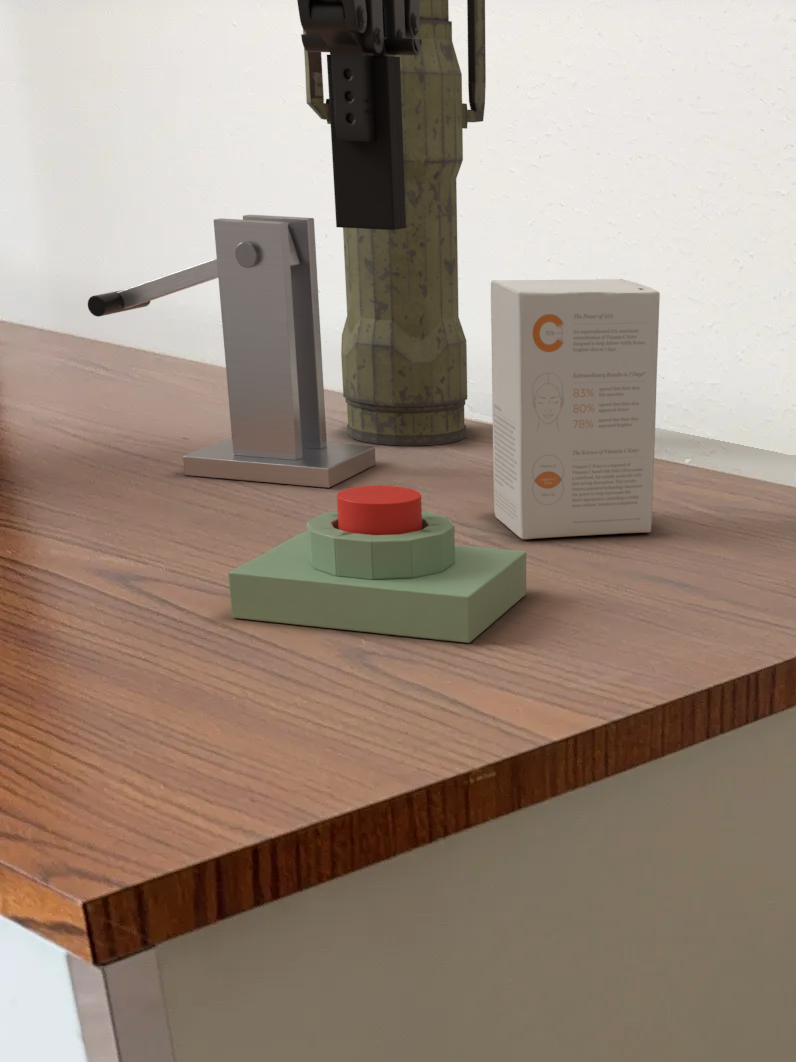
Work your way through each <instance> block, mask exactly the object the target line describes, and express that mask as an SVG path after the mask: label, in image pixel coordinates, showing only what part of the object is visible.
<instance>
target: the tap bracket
mask: <svg viewBox="0 0 796 1062" xmlns="http://www.w3.org/2000/svg"><path fill="white" fill-rule="evenodd" d="M288 229H289V232H290V235H291V238H292V241H293V244H294V247H295V250H296V253H297V256H298V259H299V262H300V264H299V265H296V266H293V267H290V255H289V239H288ZM213 230H214V243H215V244H214V245H215V254H216V258H217V267H218V278H217V280H218V287H219V288H218V290H219V301H220V303H219V304H220V312H221V313H220V314H221V325H222V337H223V349H224V359H225V371H226V385H227V396H228V406H229V420H230V432H231V437H228V438H226V439H224V440H221V441H218V442H215V443H213V444H210V445H208V446H205V447H202V448H200V449H197V450H196V451H195V450H194V451H193V452H190V453H187V454H186V455H183V456H182V461H183V471H184V476H190V477H201V478H212V479H213V478H214V479H224V480H236V481H247V482H258V483H271V484H280V485H281V484H282V485H291V486H292V485H293V486H303V487H312V488H313V487H315V488H326V489H329V488H331V487H334V486H336V485H338V484H339V483H342V482H343V481H346V480H348V479H350V478H352V477H353V476H355V475H357V474H359V473H361V472H364V471H366V470H367V469H369V468H371V467H374V466H376V464H377V463H376V446H375V445H365V444H355V443H354V444H353V443H343V442H331V441H330V442H328V441H327V439H328V438H327V423H326V422H327V421H326V408H325V405H326V404H325V390H324V388H325V387H324V371H323V370H324V369H323V354H322V337H321V335H322V334H321V319H320V318H321V317H320V316H321V315H320V301H319V284H318V283H319V282H318V281H319V280H318V266H317V250H316V249H317V246H316V231H315V218H314V217H300V216H299V217H298V216H282V215H264V214H263V215H261V214H245V215H242V219H238V218H237V219H236V218H222V217H221V218H213Z"/></svg>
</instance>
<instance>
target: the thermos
mask: <svg viewBox="0 0 796 1062" xmlns="http://www.w3.org/2000/svg"><path fill="white" fill-rule="evenodd" d="M466 6H467V7H466V8H467V9H466V13H467V15H466V17H467V19H466V20H467V84H468V86H467V89H468V103H469V108H470V109H468V103H463V75H462V70H461V66H460V63H459V60H458V57H457V53H456V50H455V46H454V42H453V21H452V20H450V16H449V14H450V13H449V0H420V17H419V22H420V24H419V33H418V36H417V37H416V38H411V39H422V48H421V52H420V54H419V55H396V56H395V57H400V73H401V100H402V127H403V154H404V181H405V209H406V228H402V229H397V230H384V229H363V228H342V234H343V235H342V236H343V258H344V259H343V260H344V277H345V279H344V281H345V298H346V299H345V300H346V317H345V322H344V325H343V328H342V329H343V330H342V333H341V346H340V347H341V348H340V349H341V350H340V352H341V353H340V356H341V358H340V359H341V375H342V376H341V377H342V379H341V380H342V395H343V397H344V399H345V403H346V408H347V409H346V410H347V411H346V413H347V425H346V432H347V433H346V434H347V436H348V437H350V439H353V440H356V441H359V442H362V443H363V442H364V443H370V444H375V445H387V446H410V447H413V446H415V447H417V446H435V445H443V444H450V443H454V442H455V443H456V442H459V441H461V440H463V439H465V438H466V435H467V431H466V428H467V427H466V426H467V425H466V424H465V405H466V401H467V400H468V350H467V348H468V347H467V346H468V345H467V338H466V335H465V332H464V329H463V326H462V323H461V321H460V317H459V315H460V314H459V263H458V261H459V259H458V258H459V257H458V256H459V255H458V253H459V252H458V200H457V198H458V196H457V195H458V194H457V178H458V175H459V172H460V170H461V166H462V164H463V161H464V147H463V145H464V144H463V143H464V142H463V141H464V140H463V139H464V137H463V135H464V134H463V129H465V130H466V129H468V123H480V122H484V119H485V117H484V116H485V108H486V89H487V88H486V86H487V85H486V83H487V82H486V81H487V79H486V78H487V77H486V76H487V75H486V72H487V70H486V69H487V68H486V0H466ZM302 34H308V35H318V33H317V32H305V31H304V30H303V29H302ZM303 54H304V55H303V56H304V73H305V91H306V92H305V95H306V97H305V98H306V99H305V100H306V104H307V105H308V106H309V108H310V109H312V111H313V112H314V113H315V114H316V115H317V116H318V118H320V120H325V121H326V123H327V125H331V122H330V105H329V98H326V99H325V97H324V79H323V60H322V52H308V51H306V50H305V48H304V47H303Z"/></svg>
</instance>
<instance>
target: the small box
mask: <svg viewBox="0 0 796 1062" xmlns="http://www.w3.org/2000/svg"><path fill="white" fill-rule="evenodd" d="M660 295H661V294H660V292H659V291H658V290H657V289H654V288H653V287H649V286H647V285H643V284H641V283H638V282H634V281H631V280H627V279H623V278H615V279H613V278H612V279H610V278H606V279H605V278H603V279H602V278H601V279H599V278H598V279H597V278H596V279H494V280H493V279H492V280H491V281H490V327H491V328H490V329H491V330H490V331H491V333H490V334H491V339H490V340H491V403H492V404H491V405H492V408H491V409H492V410H491V411H492V463H493V466H492V467H493V513H494V516H495V518H496V519H498V520H499V521H500V522H501V523H502V524H503V525H504V526H506V527H507V528H508V529H509V530H510V531H512V532H513V533H514V534H515V535H516V536H517V537H519V538H520V539H521V540H533V539H550V538H565V537H580V536H581V537H582V536H598V535H618V534H619V535H620V534H639V533H641V534H642V533H651V532H652V521H653V494H654V492H653V491H654V476H655V475H654V472H655V447H656V444H655V443H656V414H657V413H656V411H657V385H658V384H657V378H658V355H659V354H658V352H659V351H658V350H659V327H660V325H659V324H660V297H661V296H660Z"/></svg>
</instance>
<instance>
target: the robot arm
mask: <svg viewBox="0 0 796 1062" xmlns="http://www.w3.org/2000/svg"><path fill="white" fill-rule="evenodd" d="M296 2H297V8H298V15H299V20H300V25H301V28H302V31H303V30H304V31H305V32H317V33H318V35H308V34H303V33H301V34H300V37H301V43H302V45H303V49H304V48H305V50H306V51H308V52H321V53H329V54H326V65H327V81H328V82H327V87H328V99H329V105H330V122H331V124H330V138H331V156H332V157H331V158H332V170H333V171H332V173H333V188H334V189H333V190H334V191H333V192H334V193H333V194H334V209H335V210H334V211H335V227H336V228H342V229H343V228H363V229H384V230H397V229H402V228H406V209H405V181H404V154H403V127H402V100H401V73H400V57H395V56H396V55H419V54H420V52H421V48H422V39H411V38H416V37H417V36H418V33H419V24H420V22H419V17H420V0H296Z"/></svg>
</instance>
